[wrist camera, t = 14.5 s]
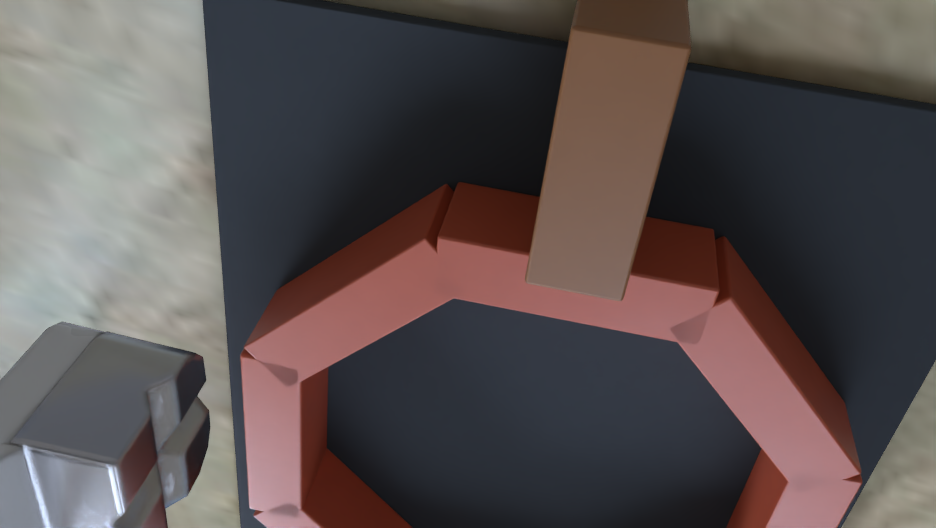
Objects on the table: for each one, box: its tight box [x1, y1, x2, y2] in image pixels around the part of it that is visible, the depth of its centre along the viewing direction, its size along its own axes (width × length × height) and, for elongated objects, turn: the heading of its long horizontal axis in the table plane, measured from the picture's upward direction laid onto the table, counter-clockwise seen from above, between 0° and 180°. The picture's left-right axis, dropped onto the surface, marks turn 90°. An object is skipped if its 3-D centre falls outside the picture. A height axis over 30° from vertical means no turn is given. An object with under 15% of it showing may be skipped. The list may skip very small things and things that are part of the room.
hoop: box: [240, 0, 862, 528], centre depth 22 cm, size 21×15×4 cm
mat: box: [203, 0, 936, 528], centre depth 25 cm, size 22×18×1 cm
